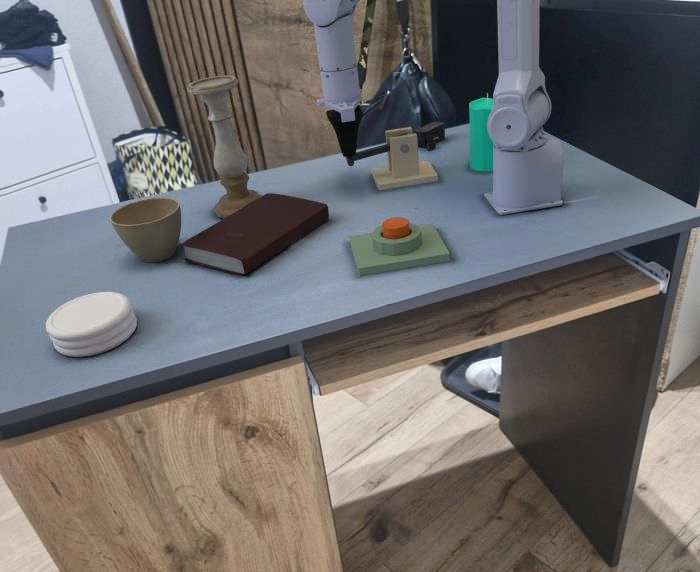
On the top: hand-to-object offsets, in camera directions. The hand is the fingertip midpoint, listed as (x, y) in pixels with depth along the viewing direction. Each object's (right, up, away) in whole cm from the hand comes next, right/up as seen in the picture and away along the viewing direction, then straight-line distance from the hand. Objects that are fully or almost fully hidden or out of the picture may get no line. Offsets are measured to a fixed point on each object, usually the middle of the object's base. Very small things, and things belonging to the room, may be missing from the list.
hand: (349, 154), depth 106 cm
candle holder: (-18, -9, +1) cm, 20 cm away
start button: (+6, -17, -21) cm, 27 cm away
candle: (+24, -1, +4) cm, 24 cm away
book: (-13, -16, -10) cm, 23 cm away
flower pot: (-28, -18, -10) cm, 35 cm away
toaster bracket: (+9, -3, +3) cm, 11 cm away
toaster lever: (+5, 0, +1) cm, 5 cm away
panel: (+7, -19, -19) cm, 28 cm away
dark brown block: (+16, +6, +16) cm, 23 cm away
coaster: (-31, -31, -27) cm, 51 cm away
